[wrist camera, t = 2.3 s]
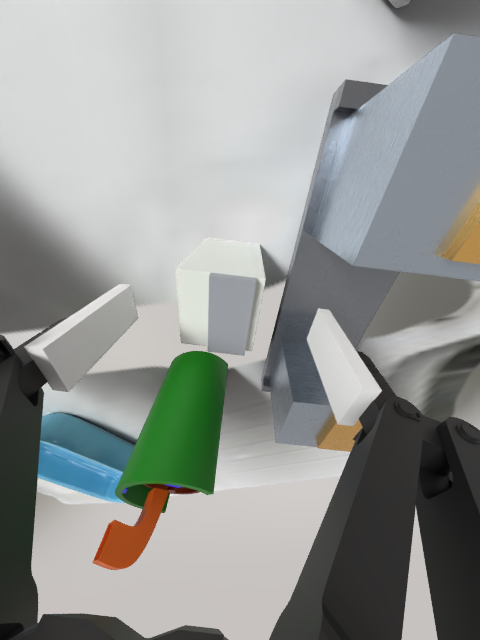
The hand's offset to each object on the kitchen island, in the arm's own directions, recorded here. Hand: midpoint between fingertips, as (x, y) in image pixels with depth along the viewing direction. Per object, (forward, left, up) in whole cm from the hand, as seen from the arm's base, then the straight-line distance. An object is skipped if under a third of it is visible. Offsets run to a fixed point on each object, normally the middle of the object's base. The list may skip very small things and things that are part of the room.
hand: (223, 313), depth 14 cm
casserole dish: (-29, -49, -10) cm, 58 cm away
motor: (-4, -18, -10) cm, 21 cm away
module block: (0, 0, -10) cm, 10 cm away
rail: (+12, -2, -10) cm, 15 cm away
